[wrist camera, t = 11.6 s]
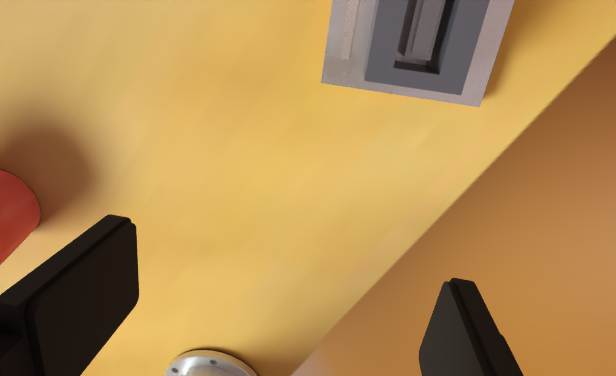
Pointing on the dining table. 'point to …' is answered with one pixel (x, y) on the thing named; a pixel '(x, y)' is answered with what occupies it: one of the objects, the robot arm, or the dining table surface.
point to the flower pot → (15, 213)
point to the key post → (408, 46)
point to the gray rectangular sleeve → (446, 52)
